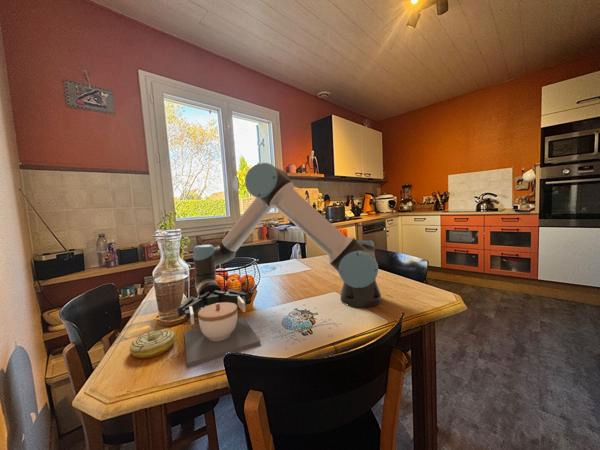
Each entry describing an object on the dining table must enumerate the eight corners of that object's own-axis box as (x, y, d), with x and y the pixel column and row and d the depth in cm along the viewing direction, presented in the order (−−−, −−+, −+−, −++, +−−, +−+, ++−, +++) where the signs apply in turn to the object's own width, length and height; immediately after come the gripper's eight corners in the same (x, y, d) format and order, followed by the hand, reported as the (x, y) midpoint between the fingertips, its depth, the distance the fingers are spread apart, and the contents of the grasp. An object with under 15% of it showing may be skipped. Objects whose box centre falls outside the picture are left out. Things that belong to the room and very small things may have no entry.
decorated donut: (168, 335, 73) (167, 323, 73) (180, 348, 66) (179, 334, 66) (127, 350, 66) (126, 336, 66) (135, 366, 59) (134, 351, 58)
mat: (243, 319, 81) (243, 316, 81) (260, 344, 65) (260, 340, 65) (184, 334, 73) (184, 331, 73) (187, 367, 57) (186, 363, 57)
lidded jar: (228, 347, 63) (225, 311, 62) (191, 344, 65) (188, 310, 64) (245, 327, 73) (243, 297, 73) (213, 325, 75) (211, 296, 75)
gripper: (245, 295, 91) (263, 315, 72) (170, 311, 80) (169, 339, 61) (243, 275, 91) (262, 290, 72) (168, 288, 79) (166, 310, 60)
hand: (219, 313), depth 66 cm, fingers open, 13 cm apart
